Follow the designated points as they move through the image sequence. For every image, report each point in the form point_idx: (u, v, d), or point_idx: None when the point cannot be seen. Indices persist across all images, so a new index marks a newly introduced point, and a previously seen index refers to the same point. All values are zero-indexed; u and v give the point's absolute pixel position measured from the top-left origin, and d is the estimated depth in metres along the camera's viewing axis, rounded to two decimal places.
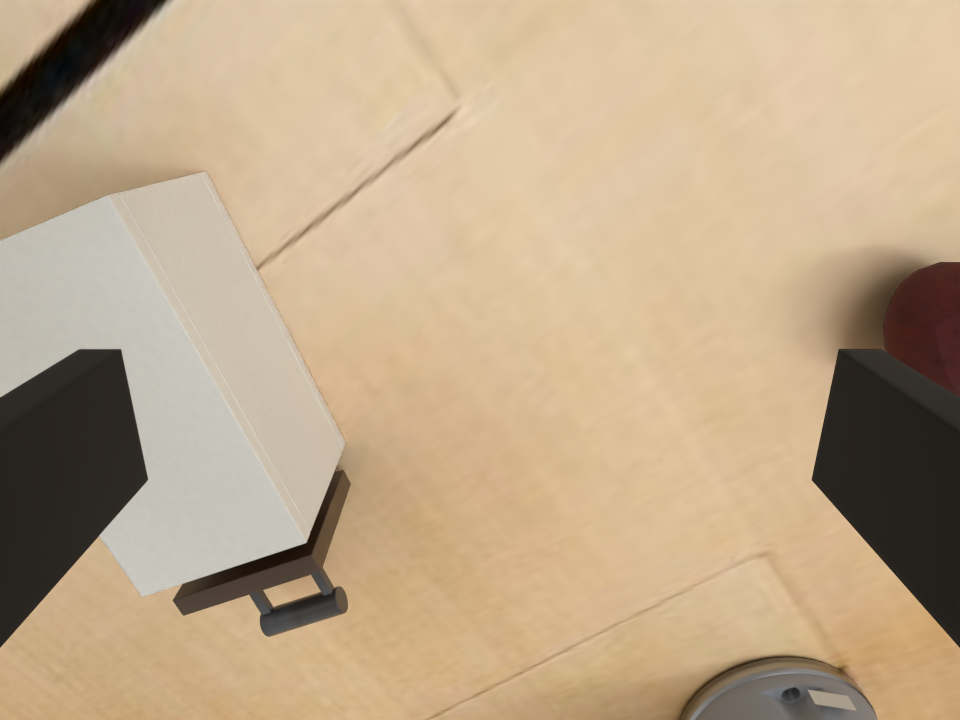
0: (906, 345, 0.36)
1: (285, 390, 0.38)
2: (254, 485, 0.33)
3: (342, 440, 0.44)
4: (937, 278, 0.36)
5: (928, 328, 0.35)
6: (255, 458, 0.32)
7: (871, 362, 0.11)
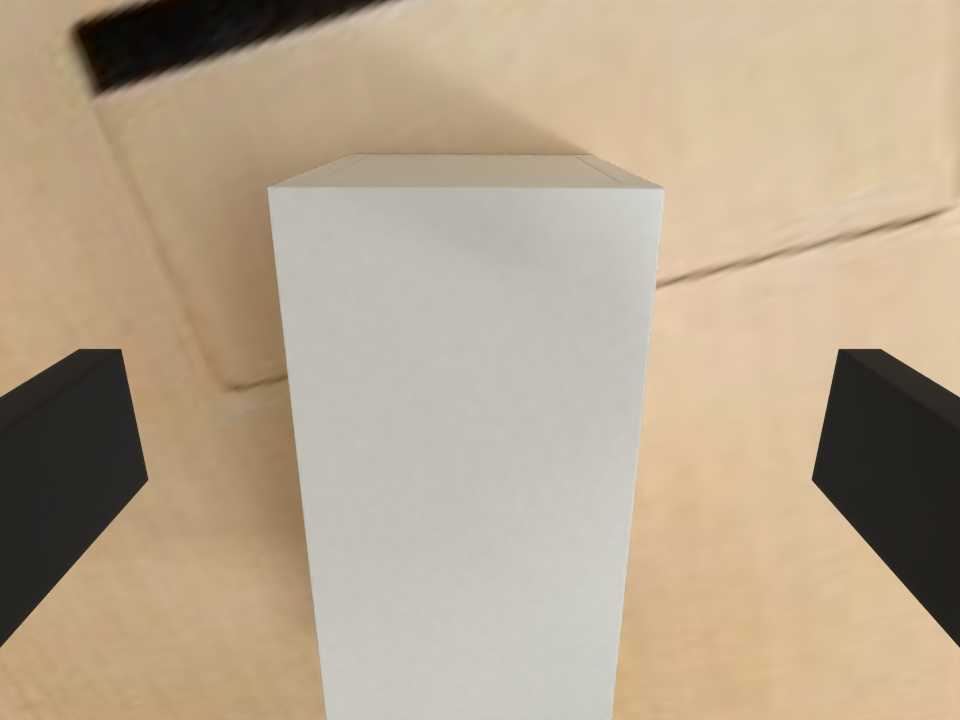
0: None
1: None
2: (591, 654, 0.22)
3: None
4: None
5: None
6: (617, 621, 0.21)
7: (871, 362, 0.11)
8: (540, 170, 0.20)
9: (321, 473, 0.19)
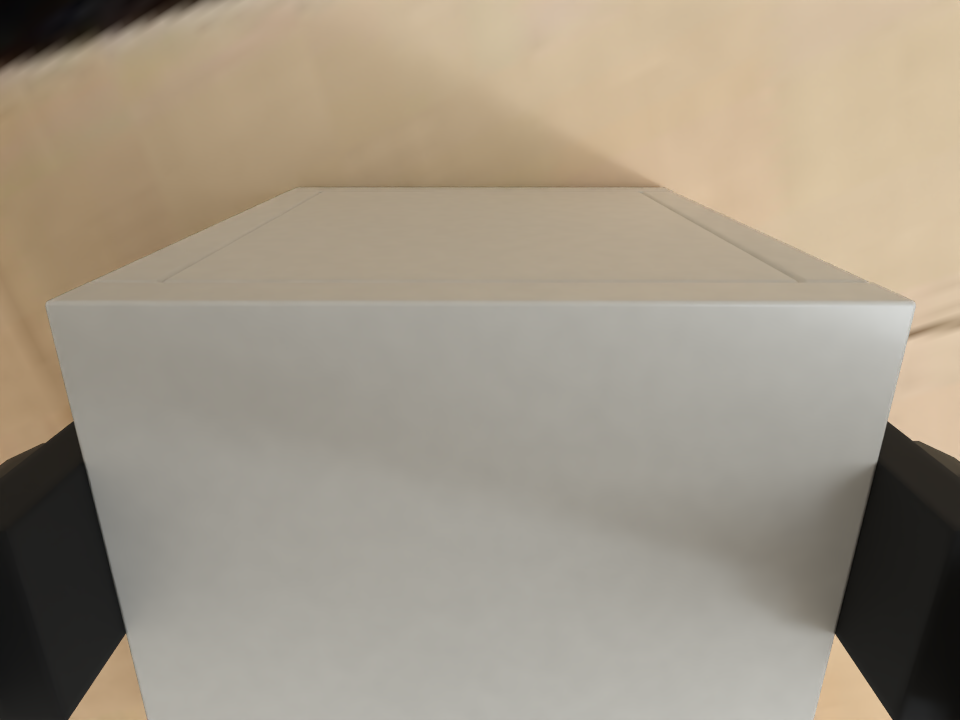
0: None
1: None
2: None
3: None
4: None
5: None
6: None
7: None
8: (607, 231, 0.11)
9: None
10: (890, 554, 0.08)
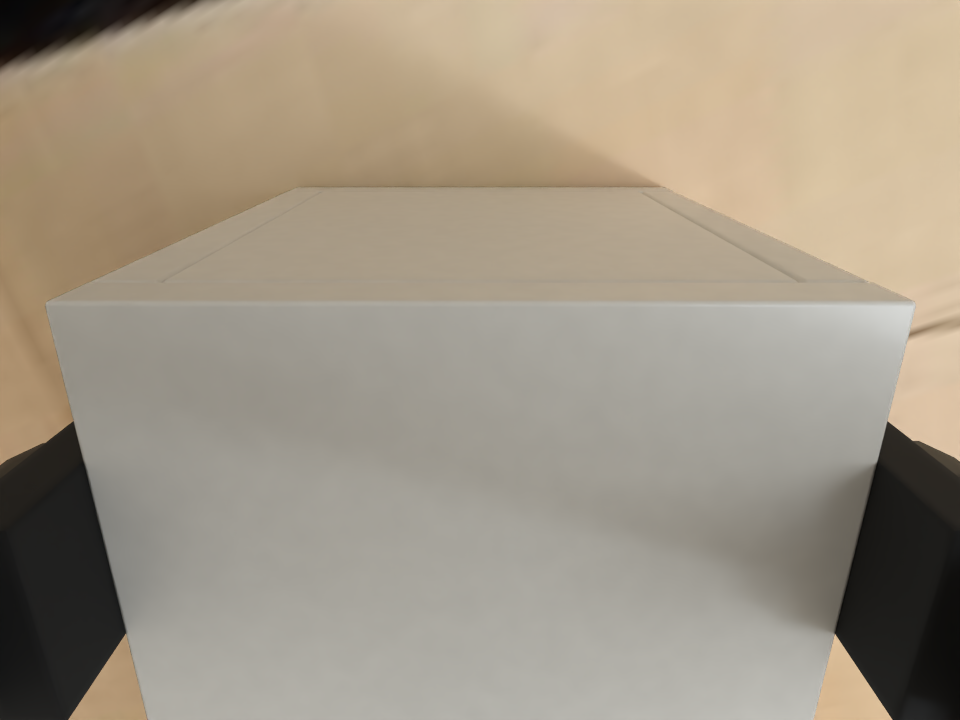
0: None
1: None
2: None
3: None
4: None
5: None
6: None
7: None
8: (607, 231, 0.11)
9: None
10: (890, 554, 0.08)
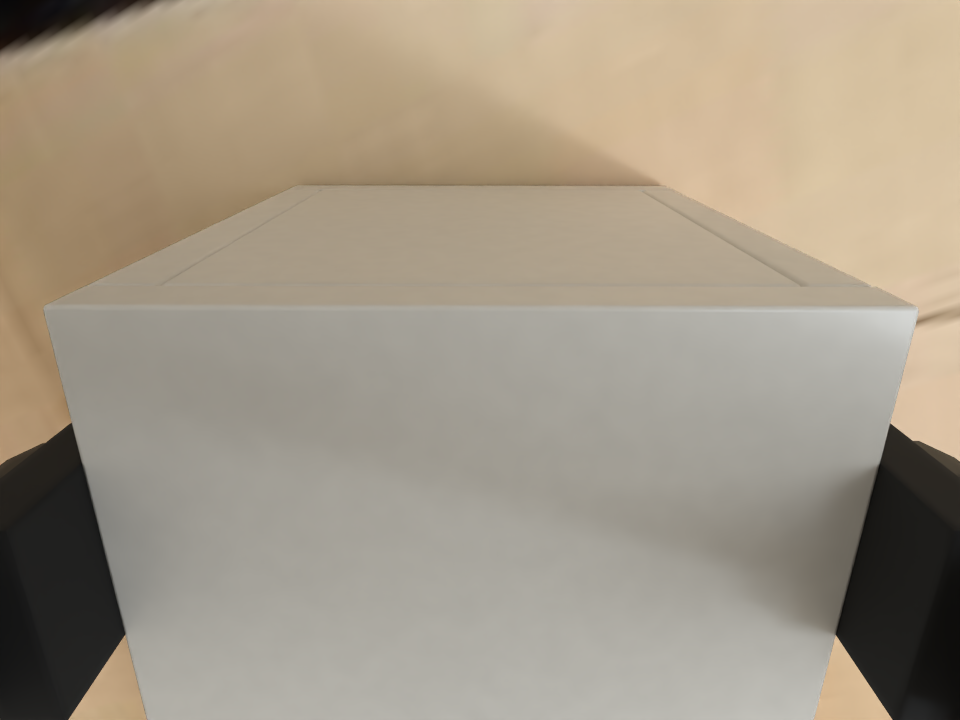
0: None
1: None
2: None
3: None
4: None
5: None
6: None
7: None
8: (608, 232, 0.11)
9: None
10: (890, 554, 0.08)
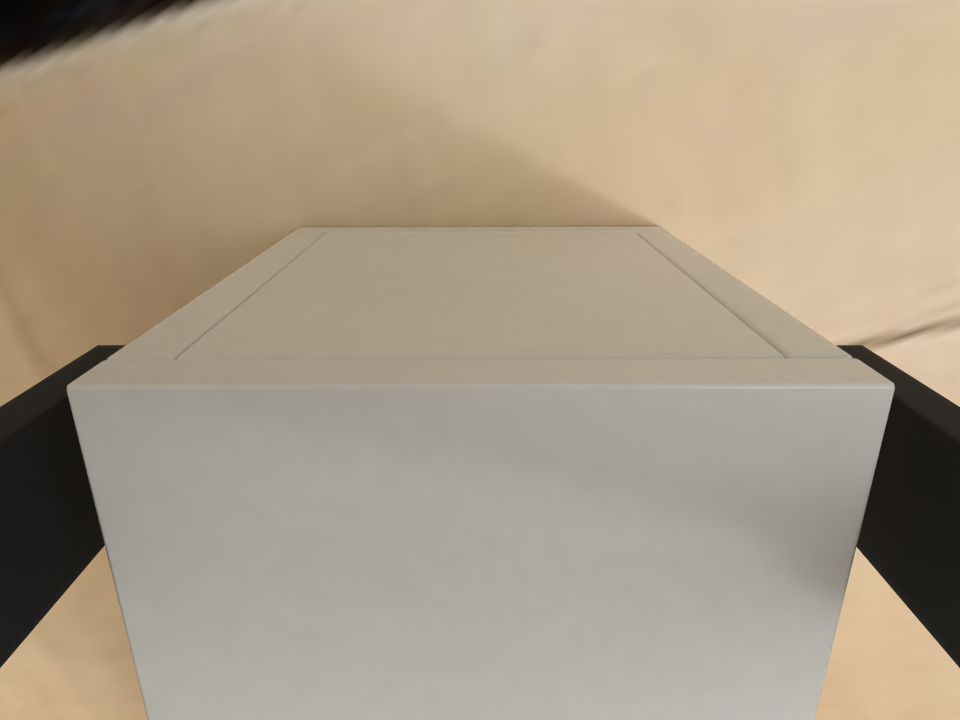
0: None
1: None
2: None
3: None
4: None
5: None
6: None
7: None
8: (602, 288, 0.12)
9: None
10: None
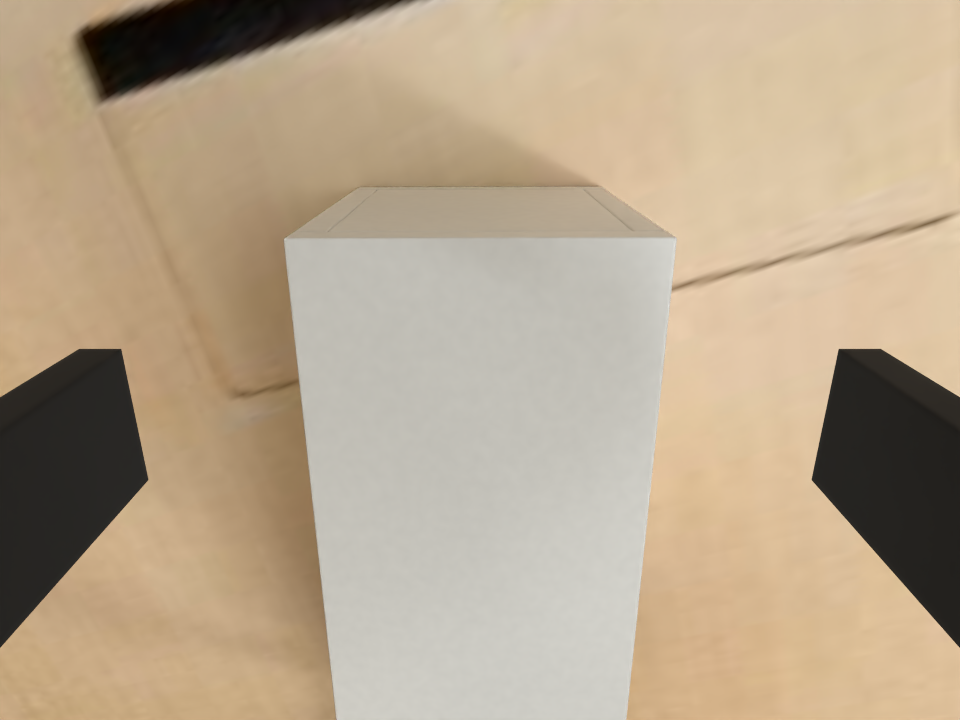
0: None
1: None
2: (602, 687, 0.22)
3: None
4: None
5: None
6: (629, 655, 0.21)
7: (871, 362, 0.11)
8: (550, 211, 0.20)
9: (336, 513, 0.19)
10: None
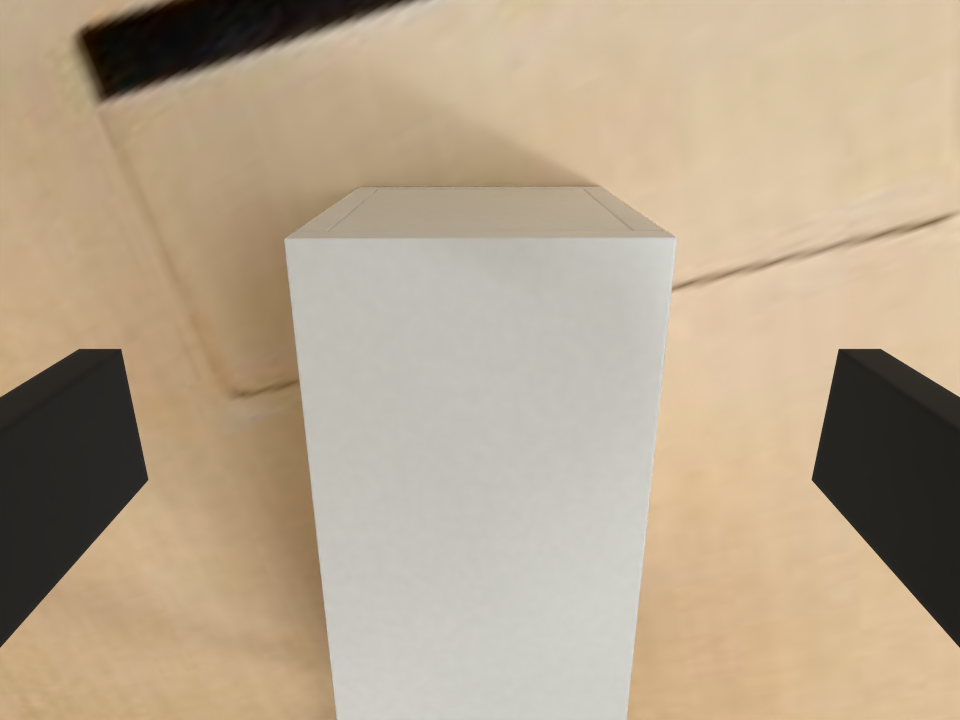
0: None
1: None
2: (602, 687, 0.22)
3: None
4: None
5: None
6: (629, 655, 0.21)
7: (871, 362, 0.11)
8: (551, 211, 0.20)
9: (336, 513, 0.19)
10: None
